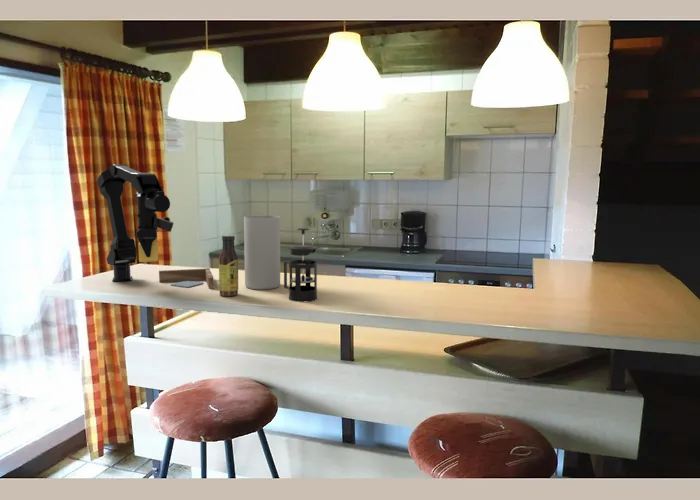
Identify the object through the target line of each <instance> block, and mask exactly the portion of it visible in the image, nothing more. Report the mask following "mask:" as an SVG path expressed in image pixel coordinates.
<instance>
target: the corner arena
mask: <svg viewBox="0 0 700 500" xmlns="http://www.w3.org/2000/svg"><path fill="white" fill-rule="evenodd" d="M158 275H159V276H158V279H159V280H158V282H159V283H163V282H164V283H168V282H169V283H170V282H183V281H205V282H206V285H207V287H208V289H209V290H212V289H215V288H214V287H215V284H214V283H215V282H214V281H215V280H214V279H215V277H214V275H213V273H212V271H211V269H210V267H209V268H208V267H207V268H190V269H189V268H188V269H167V270H163V269H162V270H158Z"/></svg>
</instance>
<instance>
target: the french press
mask: <svg viewBox="0 0 700 500" xmlns="http://www.w3.org/2000/svg"><path fill="white" fill-rule="evenodd" d="M296 230H297V231H301V235H302V244H299V245H290V246H288V248H289V249H290V255H291V256H292V255H293V256H299V257H302V259H294V260H290V261H288V260H286V261H284V263H283V288H284V289H285V290H287V289H288V290H289V292H288V293H289V294H288V299H289V301H292V302H298V301H299V303H300V302H301V303H305V302H304V301H308V302H312V300H314V301H316V300H317V299H318V298H317V297H318V288H317V287H318V286H317V285H318V283H317V282H318V273H317V272H318V269H317V268H318V262H317V261H316V260H312V259H304V258H305V257H306V256H309V255H310V254H311V253H312V254H313V253H316V250H317V249H318V247H317V246H315V245H309V244H308V245H307V244H304V243H305V242H304V241H305V238H304V237H305V234H306V231H309V230H311V229H310V228H307V227H301V228H300V227H299V228H296ZM288 267H289V286H288ZM293 269H295V270H294V271H295V273H294V274H295V275H294V277H293ZM301 269H302V271H301ZM304 269H305V271H304ZM311 269H313V270H314V274H313V275H314V276H311V274H312V273H311ZM301 272H302V273H301ZM304 272H305V274H304ZM301 274H302V275H301ZM293 283H294V284H295V285H293ZM311 283H313V284H314V285H311ZM302 284H304V285H302ZM315 299H316V300H315Z"/></svg>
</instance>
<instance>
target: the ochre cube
mask: <svg viewBox="0 0 700 500" xmlns="http://www.w3.org/2000/svg"><path fill="white" fill-rule="evenodd" d="M137 246H138V261H139V263H143V262H144V263H147V262H158V261H159V243H158V241H153V242H152V248H151V255H150V257H146V255H145V252H144V250H143V248H142V246H141V244H140V242H139V241H138V245H137Z"/></svg>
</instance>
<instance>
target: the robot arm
mask: <svg viewBox="0 0 700 500" xmlns="http://www.w3.org/2000/svg"><path fill="white" fill-rule="evenodd" d="M127 182H129V183H131V188H133V189H134V190H136V193H134V197H136V201H137V203H136V204H137V225H138V226H137V231H136V238H137V240H138V243H139V242H140V244H141V246H142V248H143V250H144V252H145V255H146V257H150V255H151V248H152V242H155V240H157V238H158V233H159V231H158V228H159V229H162V230H165V231H166V232H169V233H171V232H172V229H173V227H174V222H173V221H171V219H170V217H168V216H165V217H163V218H161V217H158V214H157V212H158V213H165V212H167V211H168V210H169V209H170V208H171V207H170V206H171V201H170V198H169V197H168V196H167V195H165V191H164V188H163V186H162V185H161V183H160V181H159V179H158V177H157V174H155V173H153V172H141V171H138V170H135V169H133V168H131V167H129V166H127V165H126V164H114V163H113V164H112V165H110V167H109V168H108V169H105V171H104V170H103V171H102V172H101V173H100V174H99V175H98V177H97V180H96V186H97V187H98V189H99V193H100V194H101V196H102V197H103V198H104V199H105V200H106V205H107V209H108V214H109V220H110V225H111V230H112V231H111V232H112V237H113V239H112V241H111V243H110V250H109V253H108V255H107V257H106V263H107V265H109V266H113V277H112V280H111V281H112V282H113V283H114V282H130V281H132V280H133V275H132V276H131V264H133V263H134V264H135V263H136V262H137V257H138V250H137V246H136V241H135V239H134V238H131V237H130V236H129V235H128V231H127V224H126V219H125V218H126V217H125V214H124V208H123V203H122V198H121V197H122V195H123V193H124V191H125V189H124V185H126V184H127Z"/></svg>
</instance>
